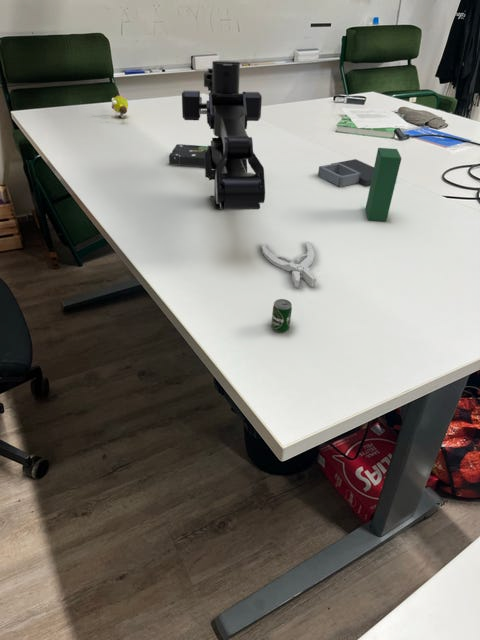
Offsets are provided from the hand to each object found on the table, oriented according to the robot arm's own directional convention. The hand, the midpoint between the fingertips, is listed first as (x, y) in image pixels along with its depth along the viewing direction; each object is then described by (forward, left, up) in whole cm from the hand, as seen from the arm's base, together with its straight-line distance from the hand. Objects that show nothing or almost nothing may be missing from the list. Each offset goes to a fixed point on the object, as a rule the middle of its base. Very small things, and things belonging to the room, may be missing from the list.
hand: (219, 100), depth 120 cm
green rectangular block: (-38, -27, -16) cm, 50 cm away
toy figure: (+52, +21, -17) cm, 59 cm away
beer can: (-72, +8, -17) cm, 74 cm away
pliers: (-55, -1, -17) cm, 58 cm away
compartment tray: (-15, -33, -16) cm, 39 cm away
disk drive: (+4, +4, -17) cm, 18 cm away
